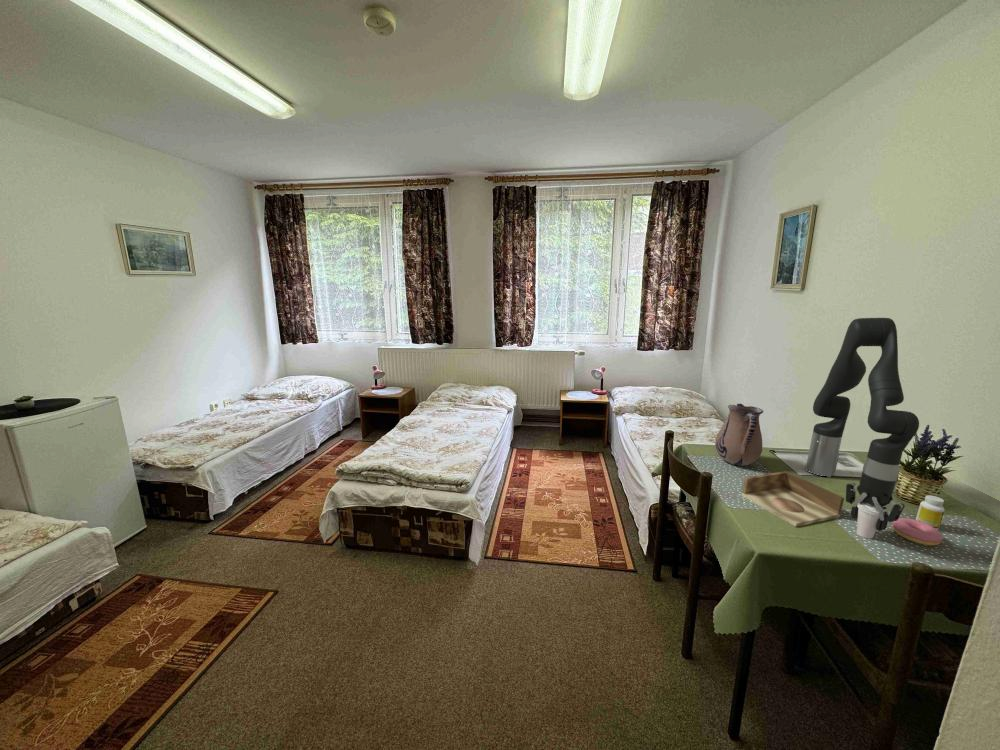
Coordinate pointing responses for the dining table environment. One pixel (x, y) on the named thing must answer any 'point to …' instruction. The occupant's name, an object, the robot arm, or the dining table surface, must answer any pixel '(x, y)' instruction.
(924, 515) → the supplement bottle
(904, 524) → the doughnut
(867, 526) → the smoothie
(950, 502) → the dining table surface
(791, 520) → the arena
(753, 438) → the ceramic pitcher
